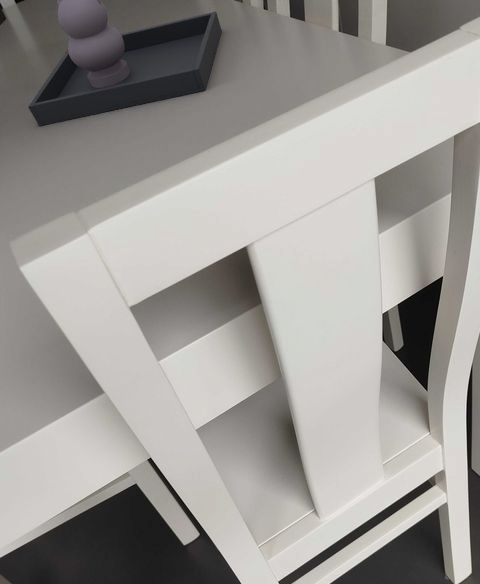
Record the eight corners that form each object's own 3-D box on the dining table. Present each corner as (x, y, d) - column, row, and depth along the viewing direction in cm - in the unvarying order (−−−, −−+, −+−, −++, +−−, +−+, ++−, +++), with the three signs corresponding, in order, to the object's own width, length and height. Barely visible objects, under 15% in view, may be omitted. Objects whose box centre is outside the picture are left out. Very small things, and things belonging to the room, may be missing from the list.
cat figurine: (75, 93, 90) (34, 9, 82) (97, 69, 95) (60, -13, 87) (123, 87, 88) (85, -1, 79) (143, 63, 92) (110, -22, 84)
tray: (38, 126, 86) (27, 106, 84) (78, 64, 101) (69, 46, 98) (205, 90, 82) (198, 68, 79) (221, 30, 96) (216, 11, 94)
